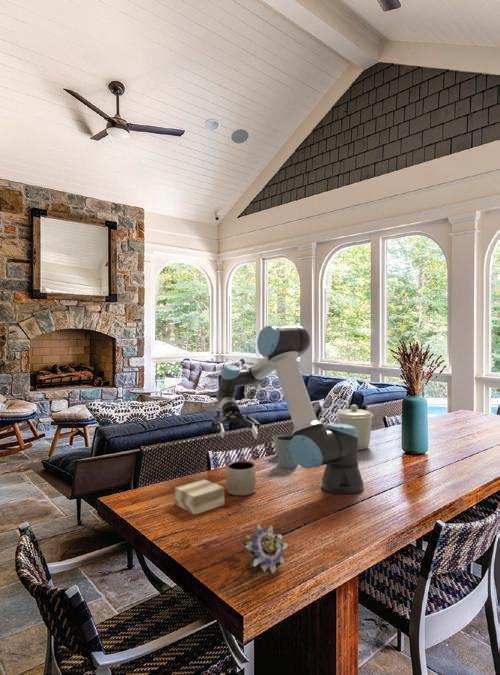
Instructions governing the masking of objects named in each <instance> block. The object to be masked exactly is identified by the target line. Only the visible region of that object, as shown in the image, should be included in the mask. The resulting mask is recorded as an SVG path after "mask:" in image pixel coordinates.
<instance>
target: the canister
mask: <svg viewBox="0 0 500 675" xmlns="http://www.w3.org/2000/svg"><path fill="white" fill-rule="evenodd" d="M335 416H336V422H337V424H346V425H351V426H354V427H355V428H356V429H357V435H358V451H361V450H365V449H367V448H368V447H369V445H370V442H371V441H370V440H371V434H372V423H373V422H372V421H373V420H372V419H373V417H374V414H373V413H372V412H371V411H369V410H365V409H361V408H360V409H359V407H358V405H357V404H351V405H350V406H349V408H348V409H347V408H345V409H341V410H339V411H338V412H336V413H335Z"/></svg>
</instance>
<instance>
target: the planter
mask: <svg viewBox="0 0 500 675" xmlns="http://www.w3.org/2000/svg"><path fill="white" fill-rule="evenodd" d="M256 466H257V465H256V463H255V462H252V461H247V460H238V461H232V462H229V463H228V464H226V468H225V469H226V492H227V493H228V494H230V495H231V496H234V497H235V496H236V497H248V496H250V495H252V494H255V492H257V470H256V469H257V467H256Z"/></svg>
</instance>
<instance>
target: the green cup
mask: <svg viewBox="0 0 500 675" xmlns="http://www.w3.org/2000/svg"><path fill="white" fill-rule="evenodd" d="M281 435H282V436H278V437H276V443H277V451H278V452H277V453H278V456H277V463H278V464H277V465H278V467H279V468H281V469H282V468H283V469H294V468H297V467H298V466H299V465H298V464H297V463H296V461H295V460H294V459H293V457H292V454H291V451H290V446H291V444H290V442H291V440H292V438H293V435H292V434H291V435H290V434H288V435H287V434H281Z"/></svg>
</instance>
